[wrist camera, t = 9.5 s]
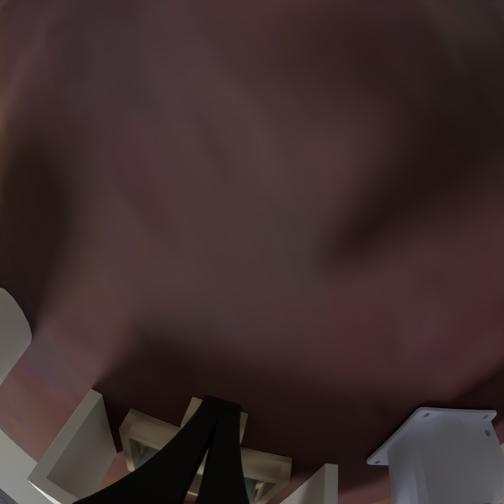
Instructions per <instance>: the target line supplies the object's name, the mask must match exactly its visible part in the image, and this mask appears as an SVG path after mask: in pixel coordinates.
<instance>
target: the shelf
mask: <svg viewBox="0 0 504 504" xmlns="http://www.w3.org/2000/svg"><path fill="white" fill-rule="evenodd" d="M116 454H117V453H116V449H115V446H114V442H113V438H112V435H111V431H110V427H109V423H108V419H107V414H106V410H105V406H104V401H103V396H102V394H100V393H98V392H96V391H94V390H92V389H91V390H90V391H89V392H88V394H87V395H86V396H85V398H84V399H83V400H82V402H81V403H80V404H79V406H78V407H77V408H76V410H75V411H74V413H73V414H72V415H71V417H70V418H69V419H68V421H67V422H66V424H65V425H64V426H63V428H62V429H61V431H60V432H59V433H58V435H57V436H56V438H55V439H54V440H53V442H52V443H51V445H50V446H49V448H48V449H47V451H46V452H45V453H44V455H43V456H42V458H41V459H40V461H39V462H38V464H37V465H36V467H35V468H34V470H33V471H32V473H31V474H30V476H29V477H28V479H27V480H28V481H29V482H30V483H31V484H32V485H33V486H35V488H37V489H38V490H39V491H40V492H41V493H42V494H43V495H44V496H46V497H47V498H48V499H49V500H50V501H52V502H53V503H54V504H72V503H74V502H75V501H78V500H80V499H82V498H85V497H87V496H90V495H92V494H94V493H95V492H96V490H97V489H98V487H99V485H100V483H101V481H102V479H103V478H104V476H105V474H106V472H107V470H108V468H109V467H110V465H111V463H112V461H113V459H114V457H115V456H116ZM337 501H338V465H336V464H327V463H325V464H324V465H323V466H322V467H321V468H320V469H319V470H318V471H317V472H316V473H315V474H314V475H313V476H311V477H310V478H309V479H308V480H307V481H306V482H305V483H304V484H302V485H301V486H300V487H299V488H298V489H297V490H295V491H294V492H293V493H292V494H291V495H289V496H288V497H287V498H286V499H285V500H283V501H282V502H281V503H279V504H337Z"/></svg>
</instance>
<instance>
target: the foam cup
mask: <svg viewBox="0 0 504 504" xmlns="http://www.w3.org/2000/svg"><path fill="white" fill-rule="evenodd" d="M31 339H32V334H31V330H30V326H29V323H28V321H27V319H26V317H25V315H24V313H23V311H22V309H21V308H20V307H19V305H18V304H17V302H16V301H15V299H14V298H13V297H12V296H11V295H10V294H9V293H8V292H7V291H6V290H5V289H3V288H0V385H1V383H2V382H3V381H4V379H5V378H6V376H7V375H8V373H9V372H10V371H11V369H12V368H13V366H14V365H15V364H16V362H17V361H18V360H19V358H20V357H21V356H22V354H23V353H24V352H25V350H26V349H27V348H28V345H29V344H30V343H31Z"/></svg>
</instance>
